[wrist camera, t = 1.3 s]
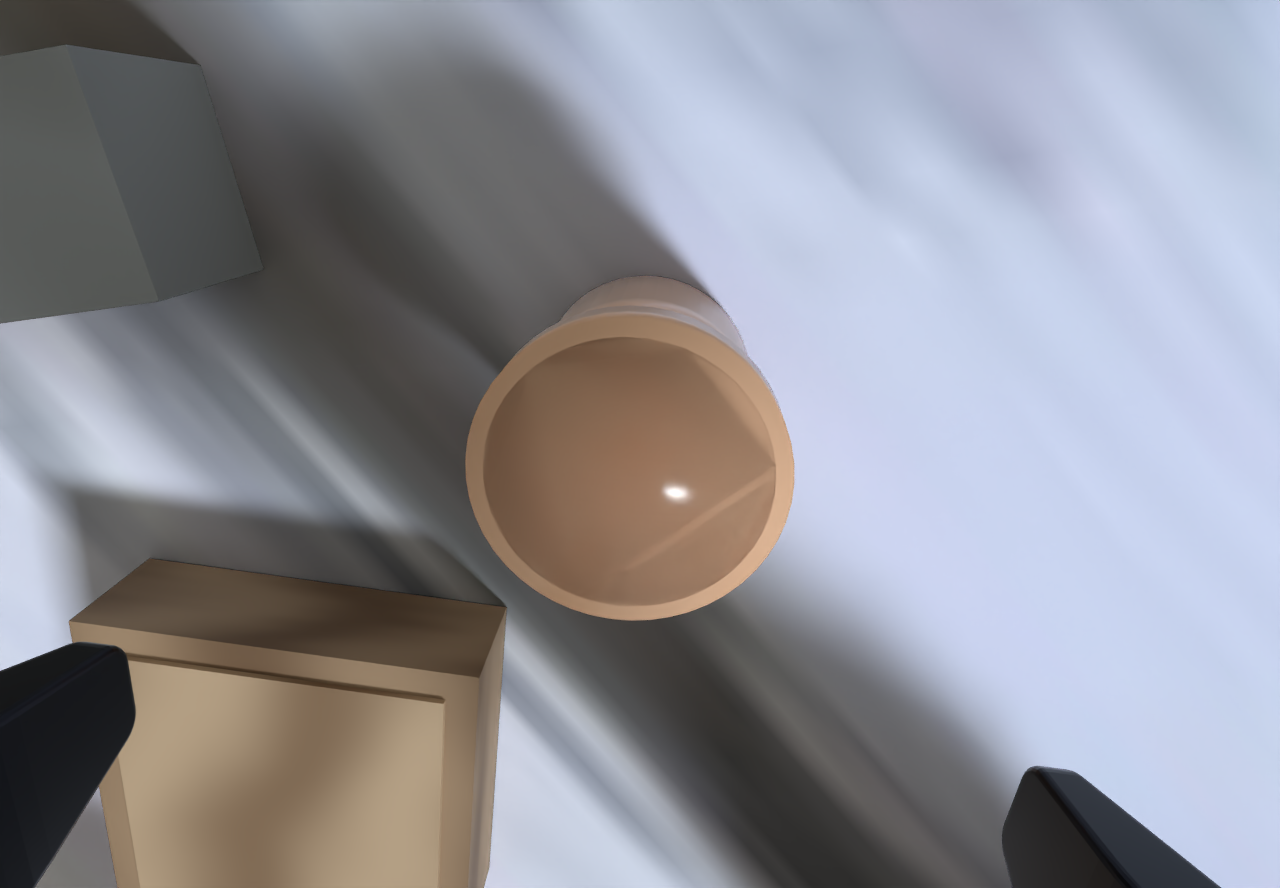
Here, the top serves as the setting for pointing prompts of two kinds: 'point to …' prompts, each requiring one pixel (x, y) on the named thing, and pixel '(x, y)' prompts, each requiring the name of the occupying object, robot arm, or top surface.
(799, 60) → the top surface
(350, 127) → the top surface
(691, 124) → the top surface
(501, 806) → the top surface
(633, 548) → the terracotta pot
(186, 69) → the grey cube
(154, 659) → the square wooden tray
